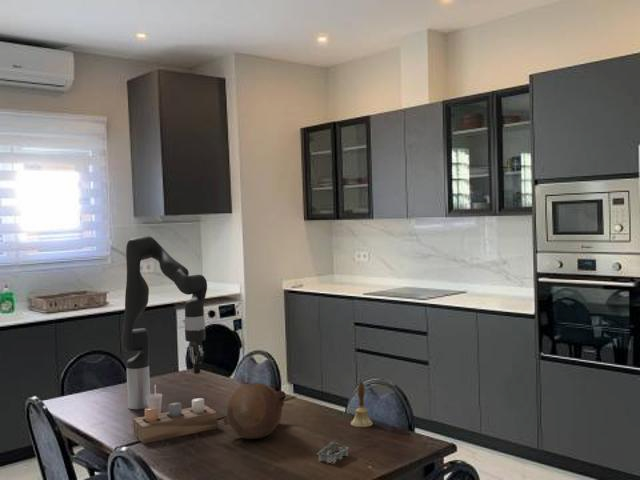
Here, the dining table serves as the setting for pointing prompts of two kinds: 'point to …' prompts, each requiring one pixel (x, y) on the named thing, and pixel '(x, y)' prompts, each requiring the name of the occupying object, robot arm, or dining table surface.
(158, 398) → the smoothie
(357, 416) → the hand bell
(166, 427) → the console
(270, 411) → the jug
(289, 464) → the dining table surface
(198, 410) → the white egg
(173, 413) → the grey rounded cylinder
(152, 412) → the brown egg
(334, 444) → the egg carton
